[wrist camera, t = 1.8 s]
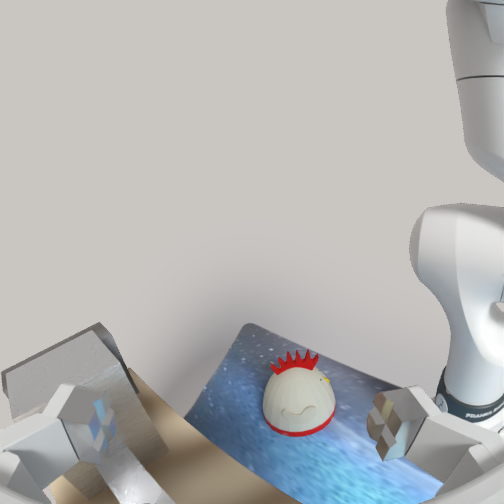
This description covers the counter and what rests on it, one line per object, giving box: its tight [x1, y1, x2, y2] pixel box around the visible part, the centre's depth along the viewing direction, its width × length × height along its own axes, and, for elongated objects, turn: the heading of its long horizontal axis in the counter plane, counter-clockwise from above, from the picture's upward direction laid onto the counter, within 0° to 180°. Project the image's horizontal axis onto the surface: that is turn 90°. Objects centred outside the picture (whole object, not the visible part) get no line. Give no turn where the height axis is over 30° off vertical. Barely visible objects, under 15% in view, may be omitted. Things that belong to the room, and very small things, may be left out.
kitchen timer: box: [263, 350, 336, 437], centre depth 52 cm, size 14×14×15 cm
